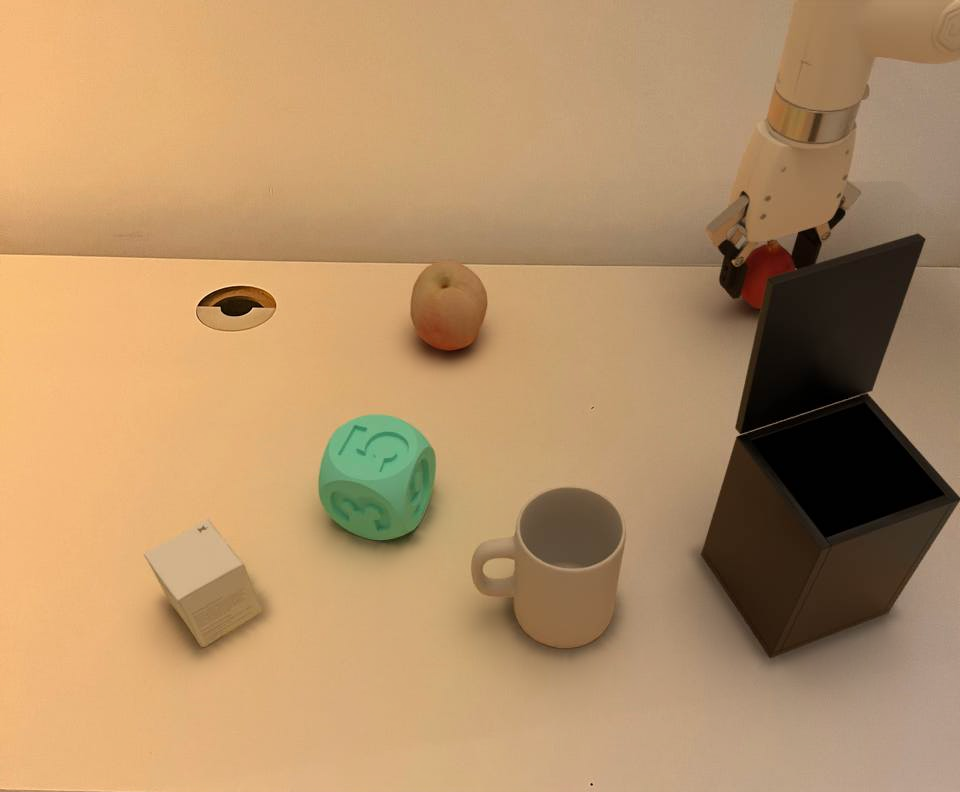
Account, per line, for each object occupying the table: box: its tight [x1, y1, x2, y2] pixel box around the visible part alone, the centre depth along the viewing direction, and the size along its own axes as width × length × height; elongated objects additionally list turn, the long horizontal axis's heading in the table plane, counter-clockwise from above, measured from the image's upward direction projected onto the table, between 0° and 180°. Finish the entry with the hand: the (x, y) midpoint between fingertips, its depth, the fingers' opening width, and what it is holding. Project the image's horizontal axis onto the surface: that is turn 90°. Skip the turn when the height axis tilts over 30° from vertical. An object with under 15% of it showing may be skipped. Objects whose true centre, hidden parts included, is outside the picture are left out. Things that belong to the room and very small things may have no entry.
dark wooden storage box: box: [700, 392, 960, 659], centre depth 75 cm, size 12×12×15 cm
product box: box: [143, 518, 263, 648], centre depth 78 cm, size 6×6×7 cm
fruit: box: [410, 259, 489, 351], centre depth 95 cm, size 8×8×8 cm
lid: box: [734, 233, 926, 435], centre depth 66 cm, size 12×12×1 cm
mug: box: [470, 485, 627, 649], centre depth 76 cm, size 12×8×11 cm
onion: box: [740, 239, 797, 310], centre depth 97 cm, size 6×6×8 cm
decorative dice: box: [317, 413, 437, 541], centre depth 83 cm, size 8×8×8 cm
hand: (764, 279), depth 97 cm, fingers open, 7 cm apart
